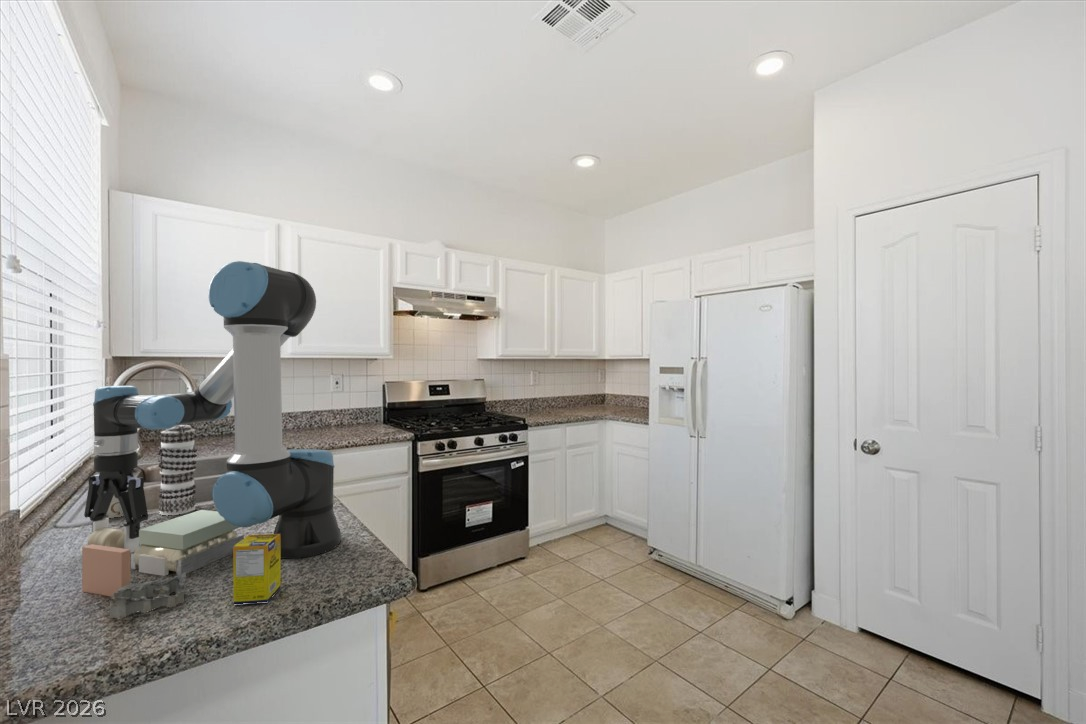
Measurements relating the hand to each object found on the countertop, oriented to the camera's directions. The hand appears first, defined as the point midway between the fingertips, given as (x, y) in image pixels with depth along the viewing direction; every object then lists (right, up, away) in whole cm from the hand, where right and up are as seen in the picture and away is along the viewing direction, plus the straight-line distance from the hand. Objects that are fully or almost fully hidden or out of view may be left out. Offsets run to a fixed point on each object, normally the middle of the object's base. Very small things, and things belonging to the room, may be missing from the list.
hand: (115, 549), depth 109 cm
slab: (+20, +5, -3) cm, 21 cm away
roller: (0, 0, 0) cm, 0 cm away
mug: (-24, 0, +26) cm, 35 cm away
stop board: (+16, 0, -20) cm, 25 cm away
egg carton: (+27, -1, -23) cm, 36 cm away
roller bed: (+20, 0, -4) cm, 20 cm away
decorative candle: (-8, 0, +29) cm, 30 cm away
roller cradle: (+17, 0, -15) cm, 22 cm away
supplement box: (+45, -1, -21) cm, 50 cm away
